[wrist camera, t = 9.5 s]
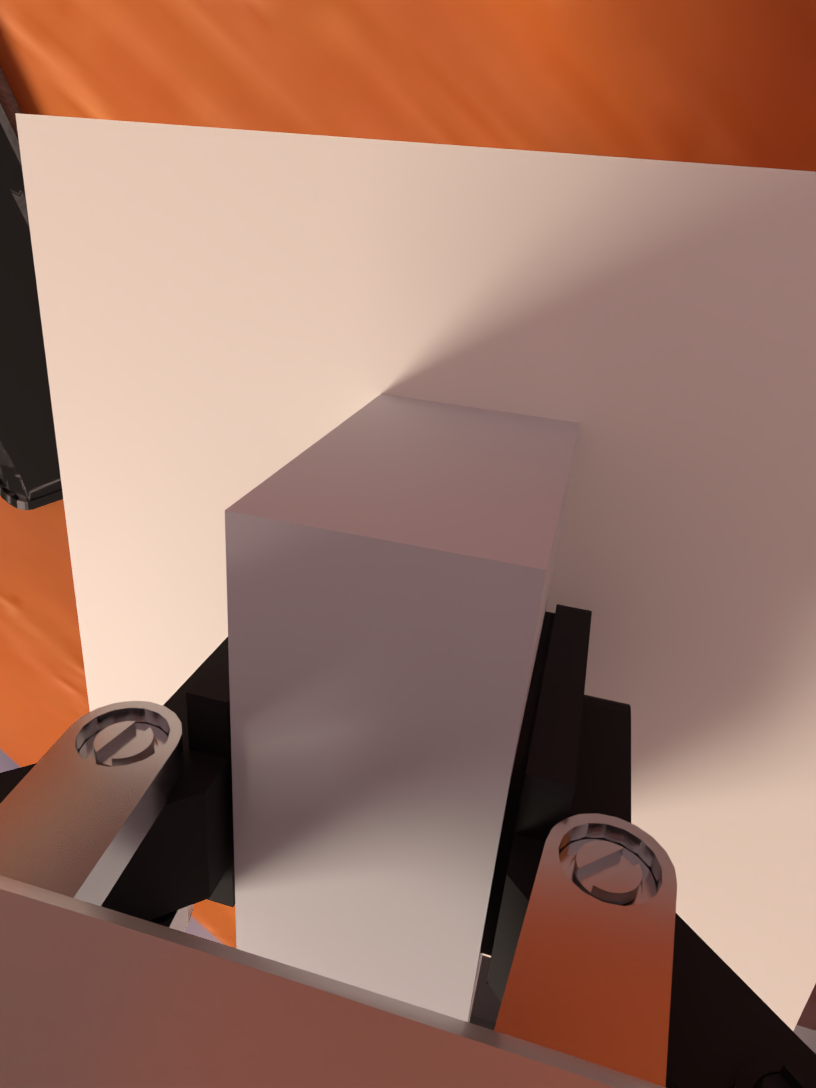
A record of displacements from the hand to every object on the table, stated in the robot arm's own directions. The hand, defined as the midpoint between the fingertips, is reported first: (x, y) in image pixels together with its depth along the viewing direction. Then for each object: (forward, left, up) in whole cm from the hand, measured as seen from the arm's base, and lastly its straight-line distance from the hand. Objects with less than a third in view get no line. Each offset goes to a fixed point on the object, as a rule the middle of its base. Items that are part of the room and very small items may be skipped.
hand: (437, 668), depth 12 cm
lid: (0, 0, -2) cm, 2 cm away
